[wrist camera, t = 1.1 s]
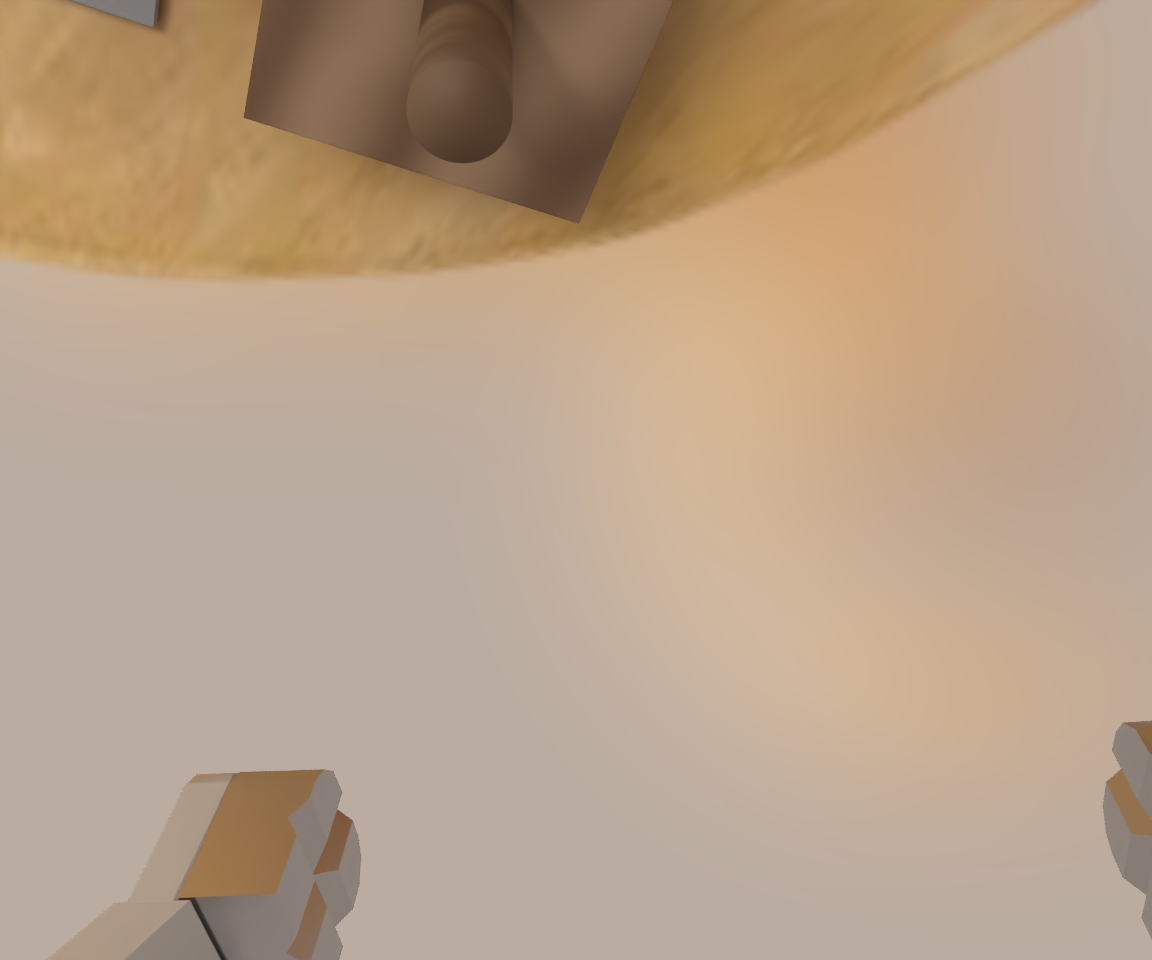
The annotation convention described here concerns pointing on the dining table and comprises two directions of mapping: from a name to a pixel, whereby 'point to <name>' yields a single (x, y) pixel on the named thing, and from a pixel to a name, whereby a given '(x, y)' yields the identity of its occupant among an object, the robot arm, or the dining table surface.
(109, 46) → the dining table surface
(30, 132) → the dining table surface
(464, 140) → the walnut cover
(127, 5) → the grey rubber mat
